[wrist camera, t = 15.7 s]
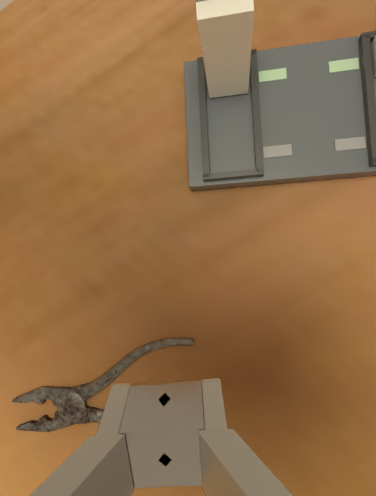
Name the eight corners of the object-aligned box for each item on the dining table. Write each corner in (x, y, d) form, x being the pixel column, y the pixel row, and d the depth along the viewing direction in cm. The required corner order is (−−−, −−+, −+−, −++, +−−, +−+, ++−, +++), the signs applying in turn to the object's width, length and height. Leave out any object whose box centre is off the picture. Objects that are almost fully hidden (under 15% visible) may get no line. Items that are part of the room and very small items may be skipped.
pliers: (229, 431, 27) (38, 497, 30) (229, 426, 28) (43, 491, 30) (188, 328, 28) (7, 400, 31) (189, 326, 29) (13, 396, 32)
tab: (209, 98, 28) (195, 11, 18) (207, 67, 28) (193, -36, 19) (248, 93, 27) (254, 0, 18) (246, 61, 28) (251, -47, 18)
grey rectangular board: (191, 190, 29) (188, 184, 27) (186, 72, 30) (182, 56, 28) (445, 169, 26) (465, 160, 24) (431, 36, 27) (449, 15, 25)
